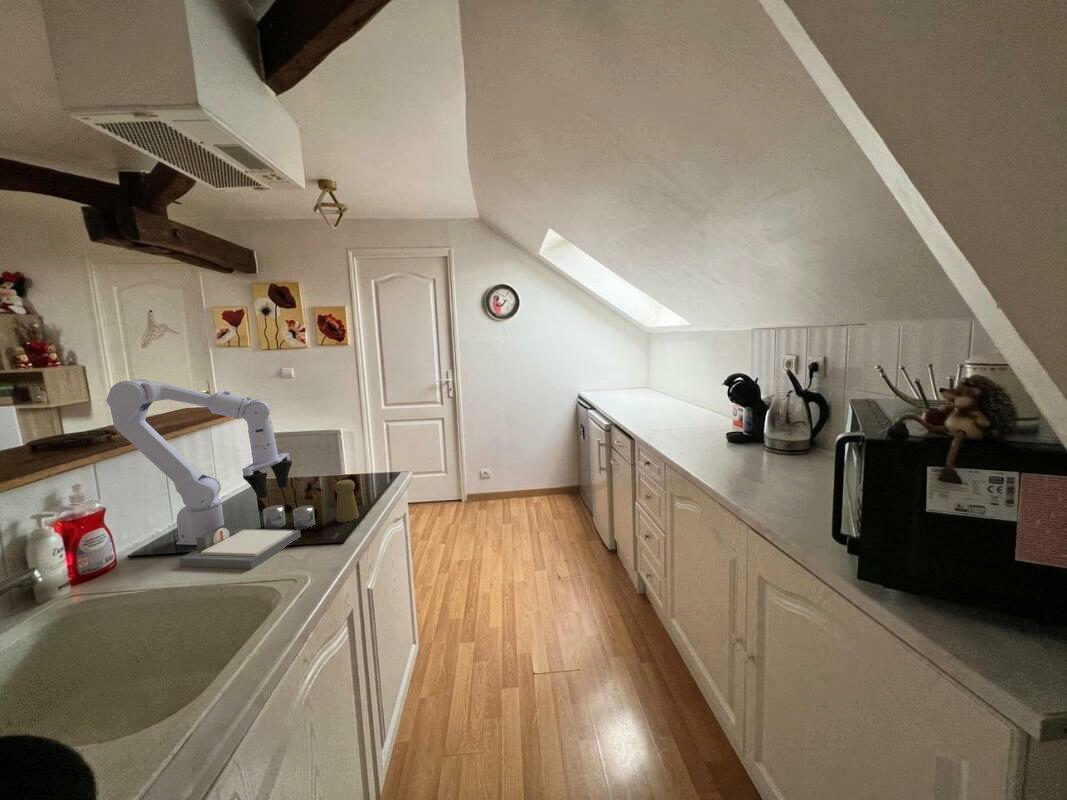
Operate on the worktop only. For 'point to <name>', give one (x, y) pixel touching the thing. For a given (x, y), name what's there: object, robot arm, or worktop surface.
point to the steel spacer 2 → (303, 517)
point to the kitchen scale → (237, 547)
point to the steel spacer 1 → (274, 517)
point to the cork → (346, 501)
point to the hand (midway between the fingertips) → (273, 492)
